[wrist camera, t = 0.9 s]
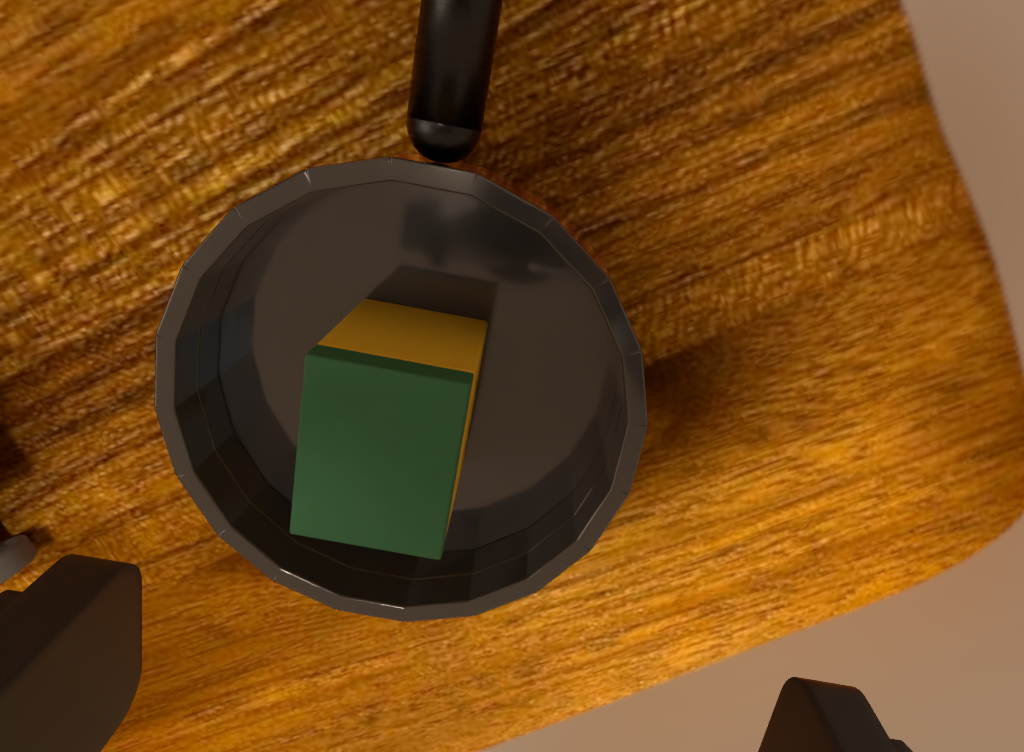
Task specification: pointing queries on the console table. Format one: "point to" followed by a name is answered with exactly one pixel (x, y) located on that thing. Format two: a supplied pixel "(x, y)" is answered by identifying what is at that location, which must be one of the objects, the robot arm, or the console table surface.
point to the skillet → (425, 285)
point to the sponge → (386, 427)
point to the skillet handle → (451, 76)
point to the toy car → (15, 555)
